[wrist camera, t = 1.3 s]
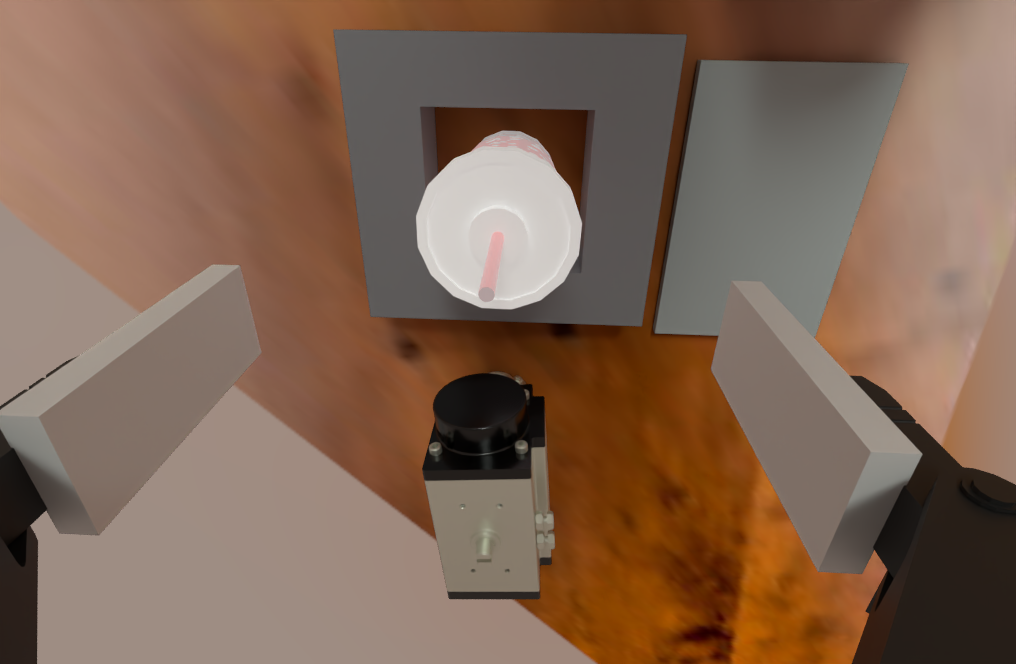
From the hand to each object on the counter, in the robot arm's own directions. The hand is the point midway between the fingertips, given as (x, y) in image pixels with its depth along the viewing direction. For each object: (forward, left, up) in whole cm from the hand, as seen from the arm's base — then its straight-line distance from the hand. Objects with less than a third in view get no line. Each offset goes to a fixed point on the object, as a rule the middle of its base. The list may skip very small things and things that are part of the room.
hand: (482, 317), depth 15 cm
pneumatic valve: (+14, 0, -15) cm, 20 cm away
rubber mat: (+1, +13, -15) cm, 20 cm away
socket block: (0, 0, -15) cm, 15 cm away
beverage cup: (0, 0, -15) cm, 15 cm away
